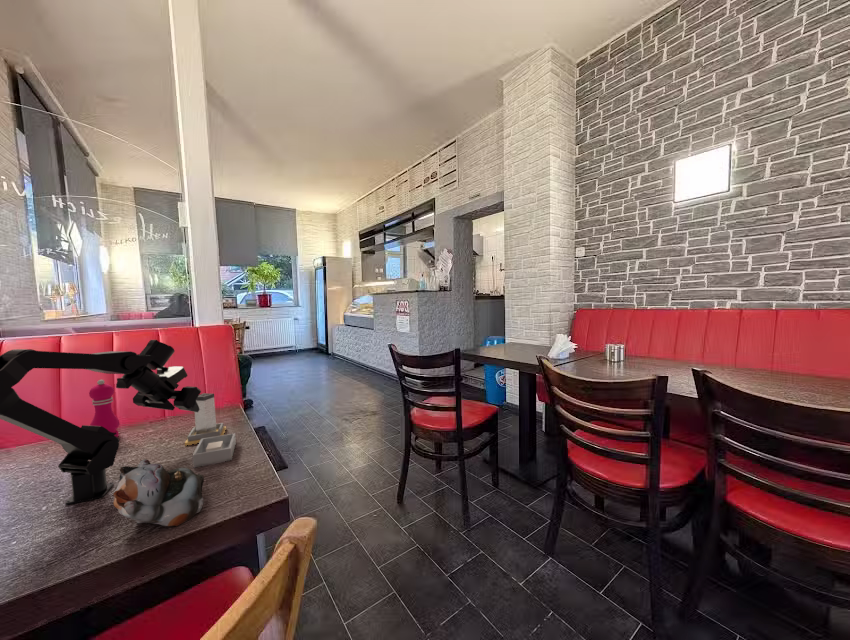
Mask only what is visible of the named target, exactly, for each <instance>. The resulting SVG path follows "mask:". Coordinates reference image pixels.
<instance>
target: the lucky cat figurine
mask: <svg viewBox="0 0 850 640" xmlns="http://www.w3.org/2000/svg"><path fill="white" fill-rule="evenodd" d="M119 472H120V474H119V481H118V484H117V487H116V489H115V490H114V492H113V495H112V496H113V506H114V508H116V509H117V511H118V514H120V515H121V516H123V517H125V518H127V519H131V520H133V521H134V522H136V524H141V523H145V524H156V525H160V526H163V527H178V526H179V525H182V524H184V523H185V522H187V521H189V520H190V519H193V518H194V517H195V516H196V514H198V513H200V511H201V510H202V509H203V508H202V507H203V505H204V502H205V501H204V497H203V494H202V492H203V486H204V481H205V476H204V474H201V473H198V474H197V473H195V472H194V471H193V470H192V469H191V468H188V467H177V468H174V469H170V470H166V468H165V467H164V465H163V464H161V463H151V461H150V460H149V459H145V458H144V459H143V460H140V462H139V464H138V465H137V466H122V467H120V469H119Z"/></svg>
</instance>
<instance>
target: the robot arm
mask: <svg viewBox="0 0 850 640" xmlns="http://www.w3.org/2000/svg"><path fill="white" fill-rule="evenodd" d="M175 351H176V350H175V348H174V347H173V346H171V345H168V344H167V343H164V342H160V340H158V339H150V340H149V341H148V342H147V344H146V346H144V348H143V349H142V351H141V352H140V353H136V352H135V351H125V350H124V351H120V350H119V351H117V350H116V351H115V350H114V351H113V350H112V351H102V352H94V353H81V352H64V351H49V350H47V351H46V350H45V351H44V350H34V349H30V348H29V349H28V348H24V349H22V348H21V349H20V348H17V349H9V350H8V351H6V352H4V353H2V354H1V355H0V420H2V421H4V422H7V423H9V424H11V425H14V426H16V427H19V428H22V429H23V430H26V431H28V432H31V433H33V434H35V435H38V436H40V437H43V438H45V439H48V440H50V441H53V442H55V443H57V444H59V445H61V447H62V449H63V450H64V451H65V452H66V453H67V454H66V455H65V457H63V459H62V460H61V462H60V463H59V464H58V468H59V470H60V471H61V472H62V473H67V474H68V473H69V474H70V482H71V493H72V495H71V496H70V497H69V498H68V499H67V500H65V502H64V505H65V506H68V505H71V504H76V503H81V502H86V501H90V500H94V499H95V500H96V499H101V498H103V497H104V496H105V494H107V493H108V491H110V489H111V488H112V487H113V486H114V485H115V483H114V482H107V472H106V469H108V468H111V467H112V466H114V463H115V460H116V457H117V453H118V450H119V447H120V440H121V439H119V437H116V436H114V435H116V434H117V433H112V432H109V431H108V430H107V429H106V428H104V427H102V426H90V425H89V424H87V425H86V424H85V425H84V424H82V425H81V427H80V426H78V425H76V424H74V423H72V422H70V421H68V420H66V419H64V418H62V417H60V416H57V415H55V414H54V413H51V412H49V411H47V410H45V409H42V408H40V407H38V406H37V405H34V404H33V403H30V402H28V401H25V400H24V399H22V398H21V396H19V395H18V393H17V391H16V390H15V389H14V388H13V387H14V386H16V385H17V384H18V383H20V382H21V380H22V379H23V378H24V377H25V376H26V375H27V374H28V373H29V372H31V371H32V370H34V369H59V370H61V369H64V370H65V369H67V370H71V369H72V370H86V371H87V370H88V371H91V372H96V373H100V374H101V373H102V374H109V375H122V376H121V377H117V378H116V383H115V387H116V389H124V390H125V389H129V388H130V387H132V388H133V389H134V390H136V391H137V392H136V393H135V395H134V396H133V397H132V403H133V404H135V405H136V406H138V407H143V408H149V409H150V408H151V409H157V410H158V409H159V410H167V411H174V410H175V408H177V409H179V410H182V411H188V412H193V413H195V412H198V411H199V410H200V409H199V406H198V404H197V402H196V399H197V397H198V396H199V395H200V394H202V391H201V389H200V388H198V387H197V386H189V385H188V386H184V387H182V388H181V390H176V389H177V388H178V387H179V386H180V385H179V384H178V383H180V382H181V381H182V380H184V379H185V378H187V377H188V373H187V371H186V369H185V367H184V366H178V365H177V366H176V365H175V366H174V365H173V366H168V367H167V366H165V365H166V364H167V362H168V361H169V360H170V358H171V357H172V356H173V355H174V353H175ZM155 371H156V372H155ZM170 399H172V400H173V402H171V401H169V400H170Z"/></svg>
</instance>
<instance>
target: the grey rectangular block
mask: <svg viewBox="0 0 850 640" xmlns="http://www.w3.org/2000/svg"><path fill="white" fill-rule="evenodd" d="M196 402H197V404H198V406H199V409H200V410H199V411H198V412H194V423H195V426H194V427H196V435H197V434H203V433H210V432H216V431H217V430H216V424H217V419H216V404H215V402H216V401H215V393H210V392H209V393H205V392H204V393H200V394H199V396H198V397H197V399H196Z"/></svg>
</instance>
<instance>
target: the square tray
mask: <svg viewBox="0 0 850 640" xmlns="http://www.w3.org/2000/svg"><path fill="white" fill-rule="evenodd" d="M216 430H217V431H216V432H210V433H203V434H197V435H196V426H194V427H192V429H191V431H190V432H189V434H188V435H187V439H186V440H185V441H184V446H185V447H187V445H188V446H192V444H194V445H198V444H197V443H199V442H200V440H201V439H203V438H209V437H215V436H221V435H225V434H224V433H226V431H225V430H227V426H224V422H219V423H216Z"/></svg>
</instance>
